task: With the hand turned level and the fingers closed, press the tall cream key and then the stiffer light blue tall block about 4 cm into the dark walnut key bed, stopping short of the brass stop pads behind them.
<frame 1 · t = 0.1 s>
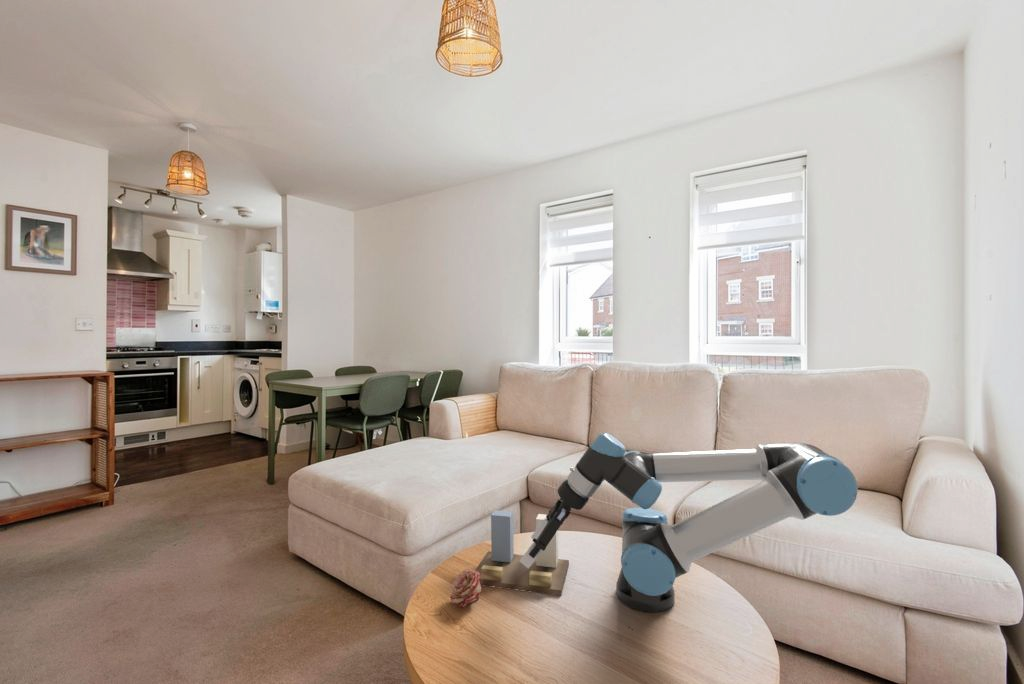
hand: (529, 551, 117), 15 cm above the table, tool tilted 35°, fingers open, 13 cm apart
light blue tall block: (502, 535, 141), point 9 cm above the table, slide at 0.0 cm
flower: (466, 603, 121), on the table
key bed: (521, 574, 135), on the table
key cream: (547, 540, 138), point 9 cm above the table, slide at 0.0 cm
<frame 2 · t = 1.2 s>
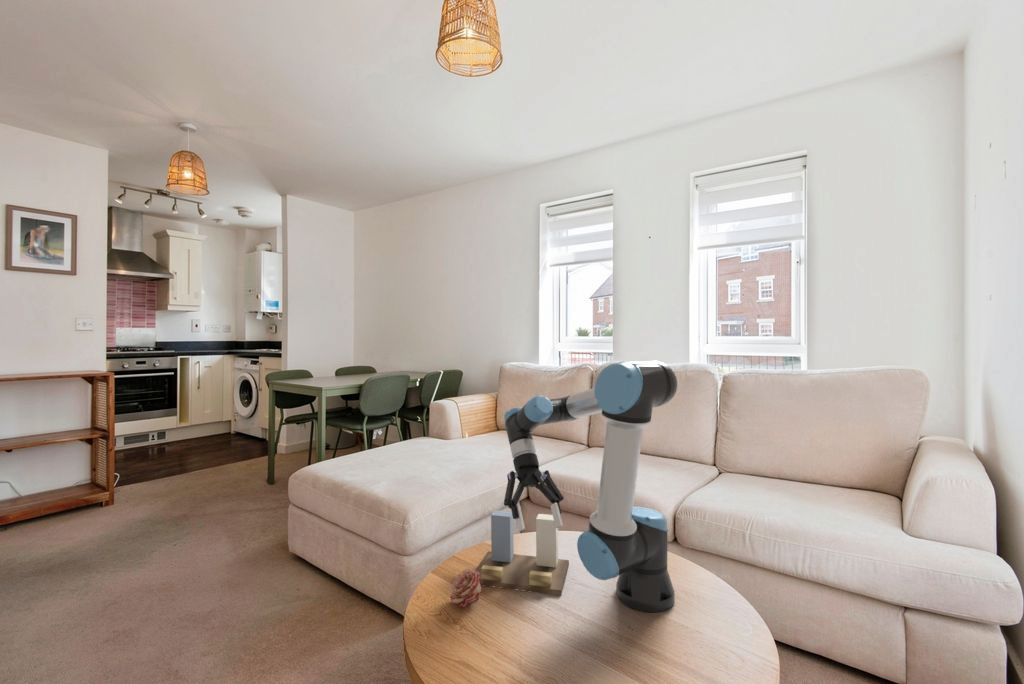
hand: (540, 528, 129), 16 cm above the table, tool tilted 35°, fingers open, 12 cm apart
key cream: (547, 540, 138), point 9 cm above the table, slide at -0.1 cm, touching gripper
everything else where it was.
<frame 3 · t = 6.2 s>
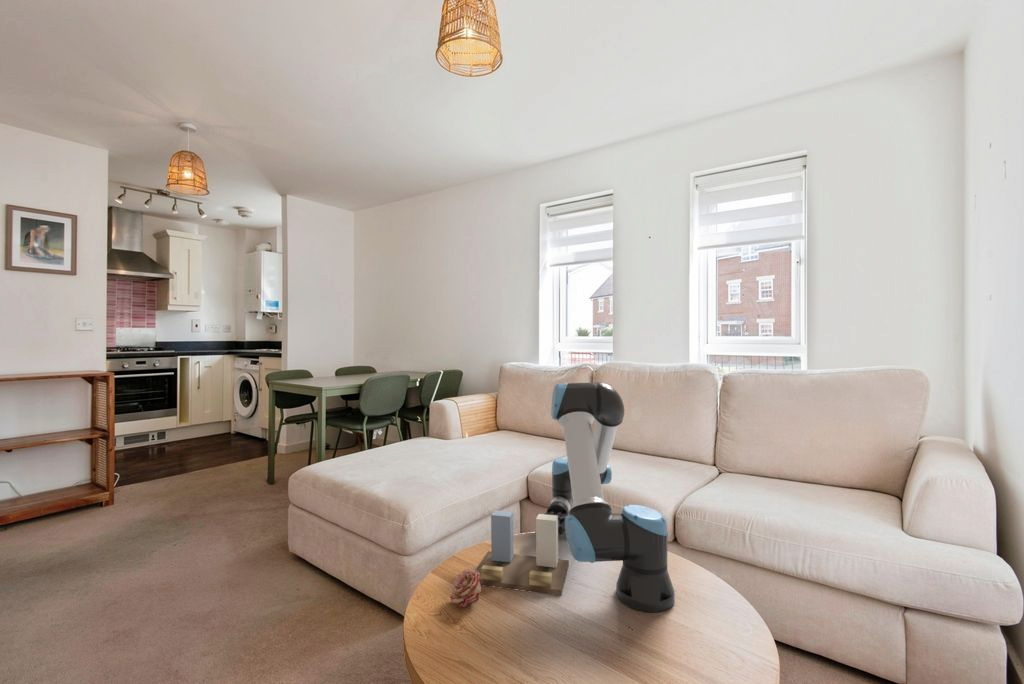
hand: (547, 540, 140), 8 cm above the table, tool horizontal, fingers closed
nothing on the table moved.
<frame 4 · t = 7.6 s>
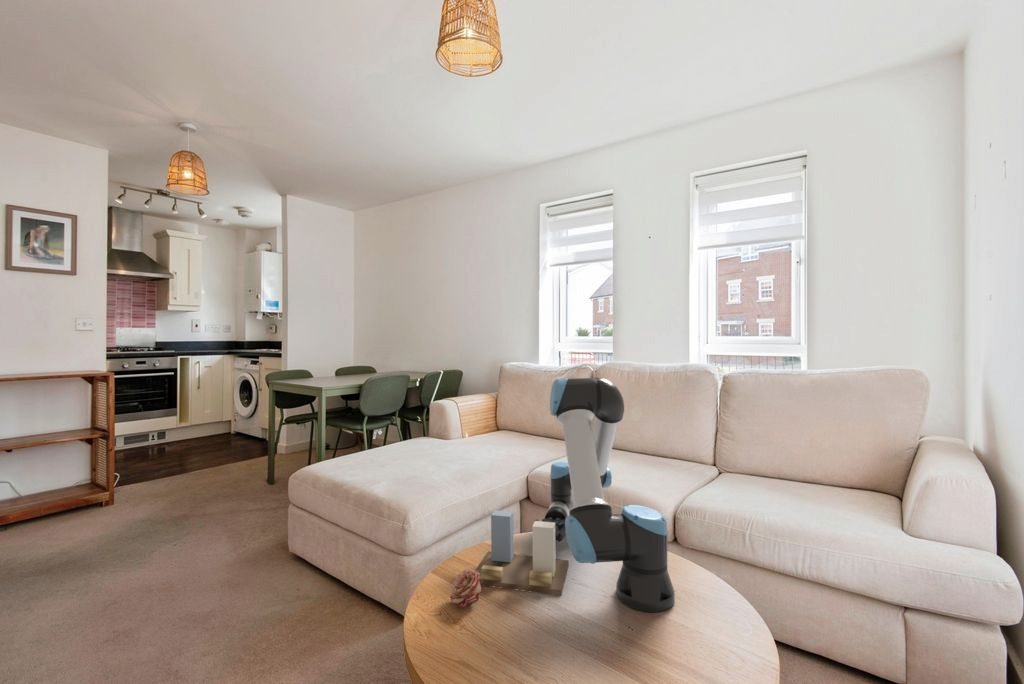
hand: (545, 547, 135), 8 cm above the table, tool horizontal, fingers closed
key cream: (544, 548, 133), point 9 cm above the table, slide at 5.3 cm, touching gripper
everything else where it was.
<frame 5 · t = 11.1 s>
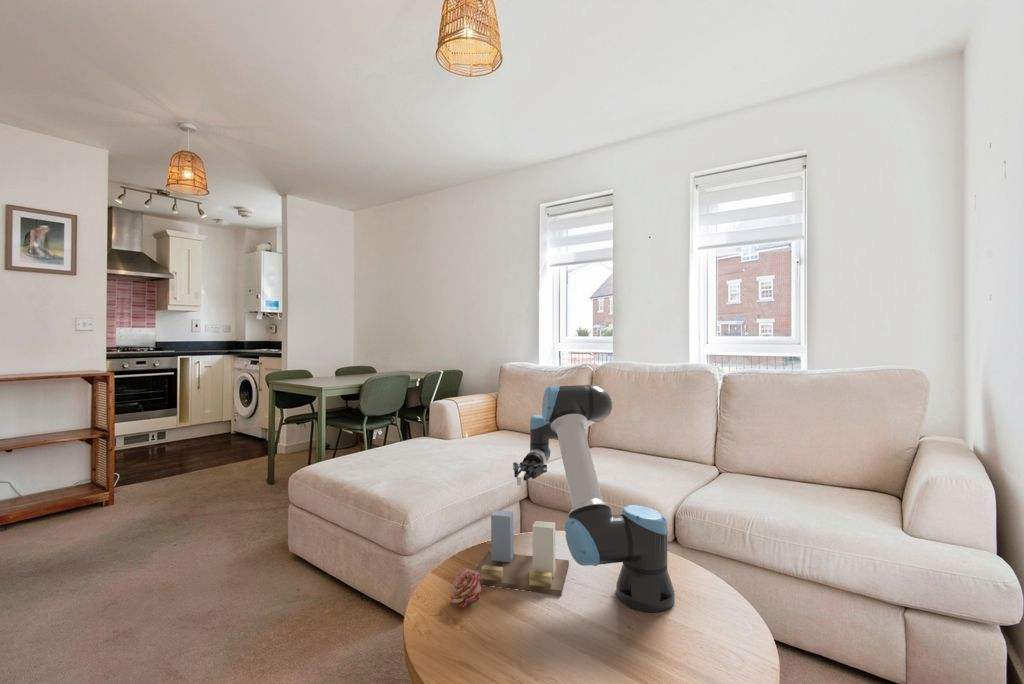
hand: (519, 481, 151), 22 cm above the table, tool horizontal, fingers closed
key cream: (544, 548, 133), point 9 cm above the table, slide at 5.4 cm
everything else where it was.
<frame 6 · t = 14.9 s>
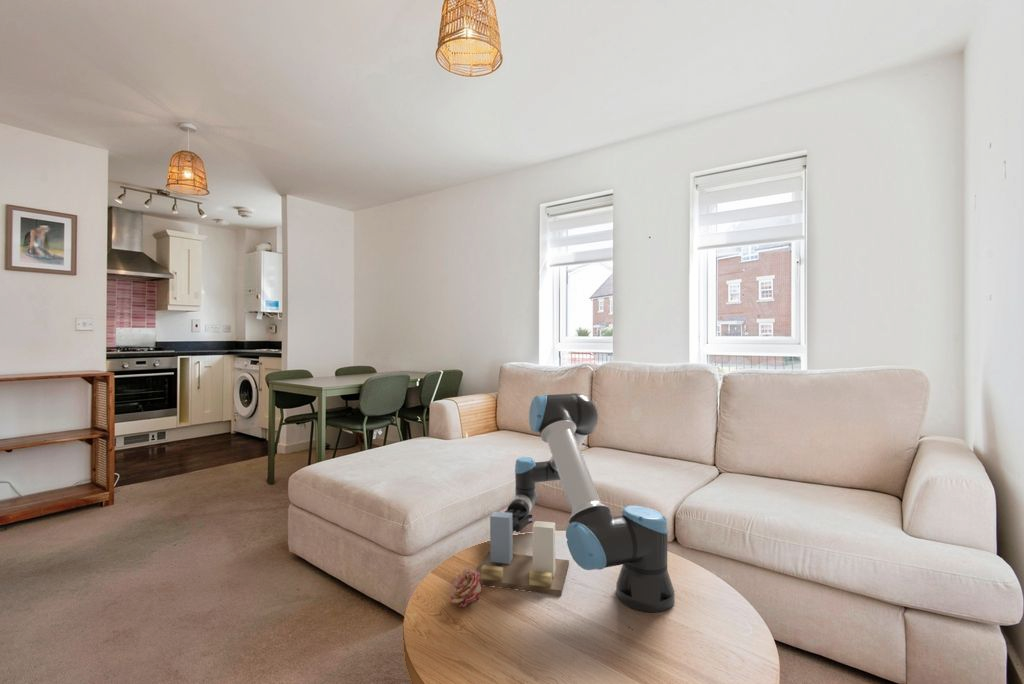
hand: (502, 537, 142), 8 cm above the table, tool horizontal, fingers closed
light blue tall block: (501, 537, 140), point 9 cm above the table, slide at 1.0 cm, touching gripper
everything else where it was.
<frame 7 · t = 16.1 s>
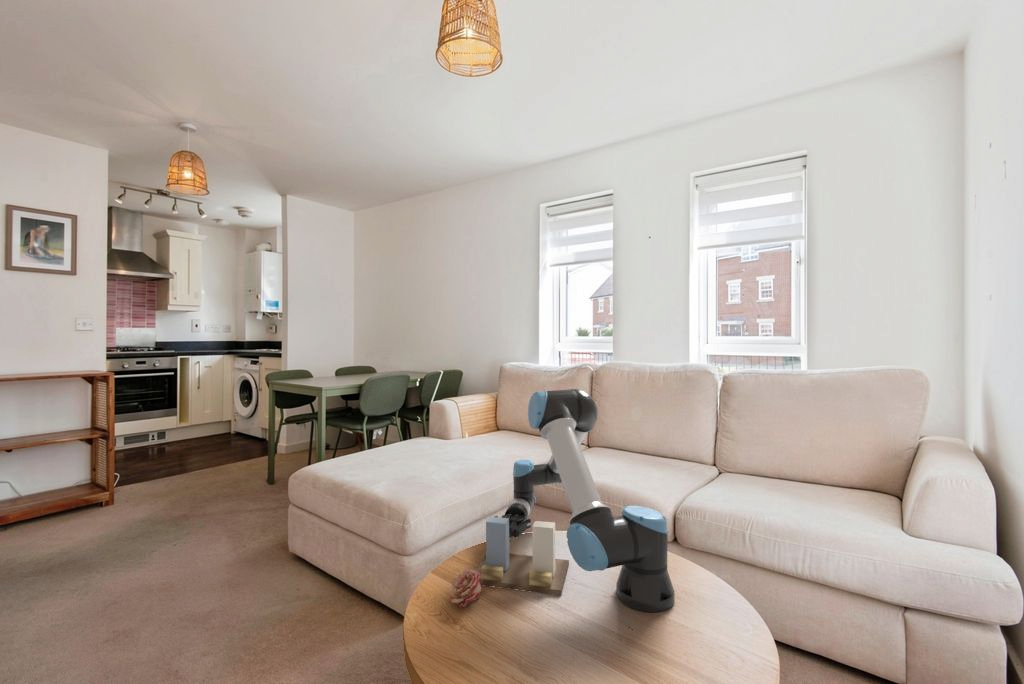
hand: (499, 542, 138), 8 cm above the table, tool horizontal, fingers closed
light blue tall block: (497, 543, 136), point 9 cm above the table, slide at 5.3 cm, touching gripper
everything else where it was.
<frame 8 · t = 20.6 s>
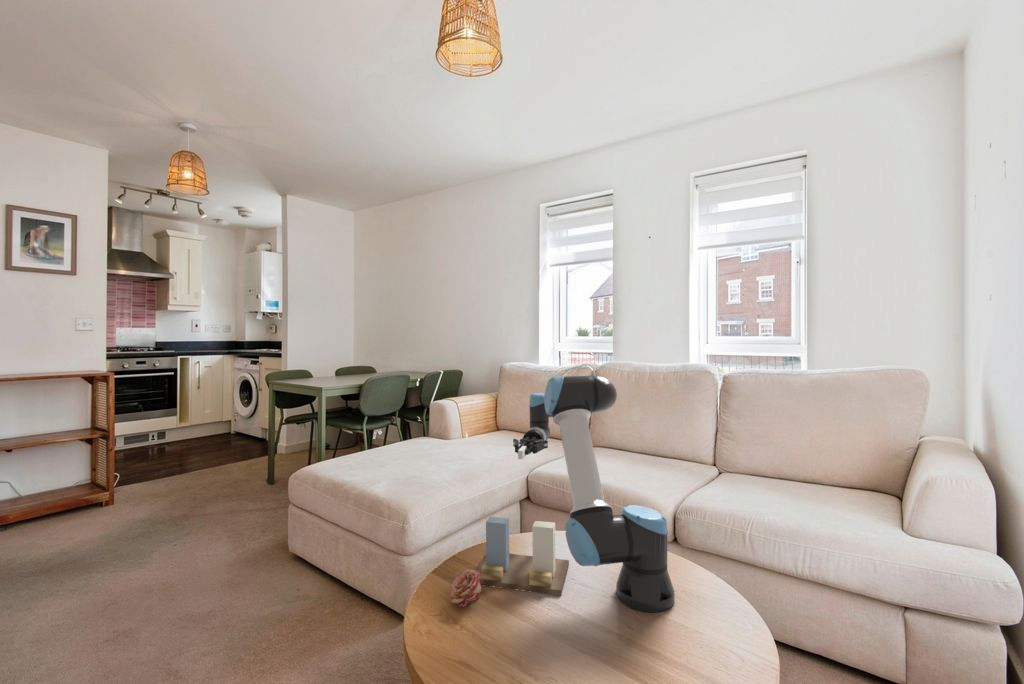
hand: (520, 454, 148), 32 cm above the table, tool horizontal, fingers closed
light blue tall block: (497, 543, 136), point 9 cm above the table, slide at 5.3 cm
everything else where it was.
at the end: key cream slide at 5.4 cm; light blue tall block slide at 5.3 cm; flower moved 0.3 cm from its start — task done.
